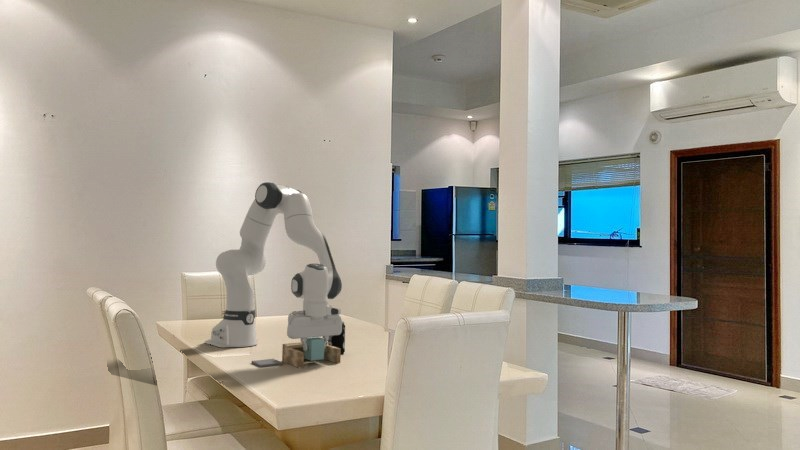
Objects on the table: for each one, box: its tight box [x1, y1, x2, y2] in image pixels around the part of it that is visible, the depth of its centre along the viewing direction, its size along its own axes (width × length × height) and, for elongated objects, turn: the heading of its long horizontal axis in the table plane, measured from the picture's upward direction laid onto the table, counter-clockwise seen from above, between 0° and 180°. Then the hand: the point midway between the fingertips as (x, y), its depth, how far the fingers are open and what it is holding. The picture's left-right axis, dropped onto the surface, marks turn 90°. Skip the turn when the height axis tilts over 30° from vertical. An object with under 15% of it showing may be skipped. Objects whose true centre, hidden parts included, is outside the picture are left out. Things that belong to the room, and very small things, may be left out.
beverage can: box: [327, 321, 346, 355], centre depth 225 cm, size 7×7×12 cm
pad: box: [251, 358, 284, 368], centre depth 203 cm, size 8×8×1 cm
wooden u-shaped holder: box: [281, 341, 342, 369], centre depth 208 cm, size 14×16×6 cm
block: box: [305, 337, 325, 361], centre depth 206 cm, size 5×5×7 cm
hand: (314, 349), depth 206 cm, fingers closed on block, 5 cm apart
